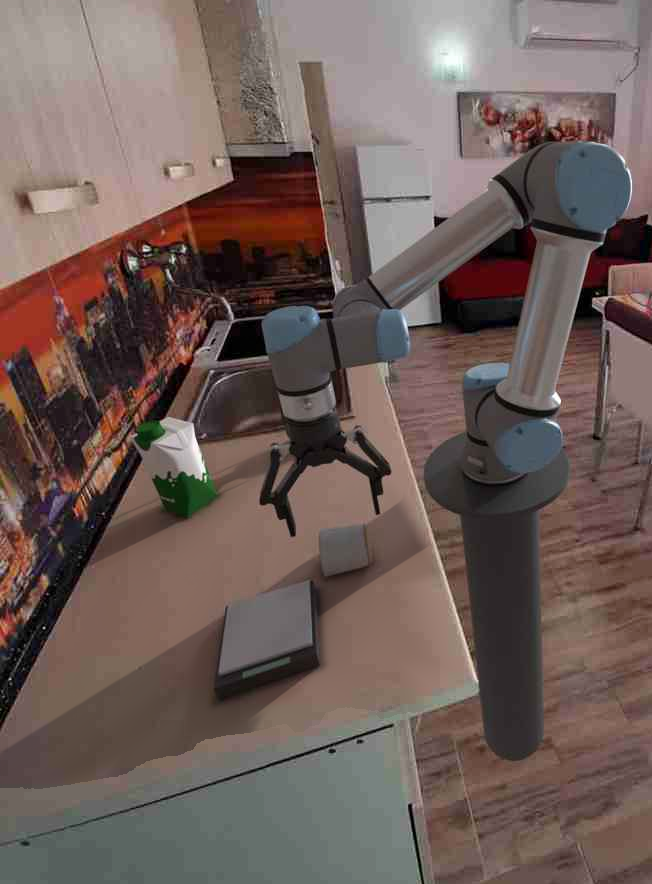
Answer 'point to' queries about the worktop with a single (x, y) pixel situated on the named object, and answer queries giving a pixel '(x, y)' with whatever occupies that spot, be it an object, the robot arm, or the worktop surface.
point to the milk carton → (175, 464)
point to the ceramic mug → (344, 548)
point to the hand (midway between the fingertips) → (336, 520)
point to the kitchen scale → (268, 639)
